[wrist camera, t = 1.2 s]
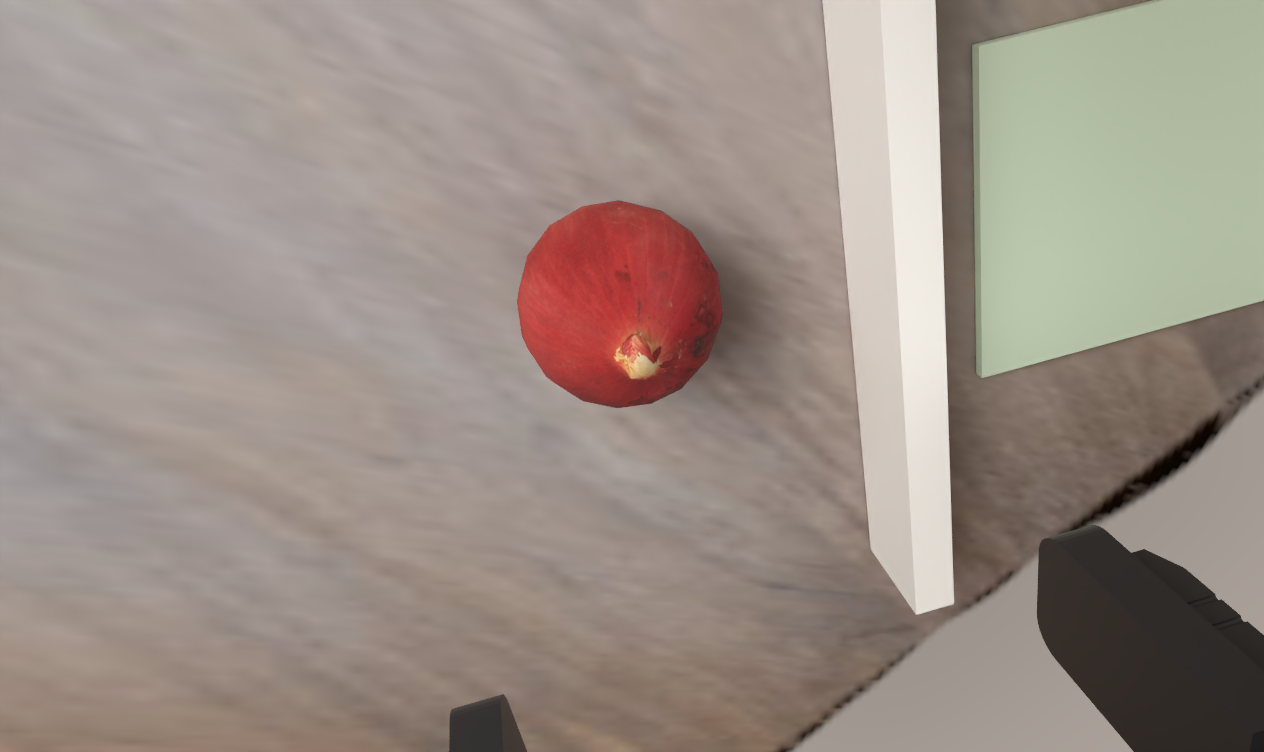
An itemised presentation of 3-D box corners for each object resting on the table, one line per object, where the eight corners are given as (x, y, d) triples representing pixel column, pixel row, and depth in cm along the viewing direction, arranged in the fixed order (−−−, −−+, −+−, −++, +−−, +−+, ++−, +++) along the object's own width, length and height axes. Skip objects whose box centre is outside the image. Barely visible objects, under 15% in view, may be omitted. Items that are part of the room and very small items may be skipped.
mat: (971, 44, 27) (978, 46, 27) (1317, -41, 28) (1328, -41, 28) (976, 373, 33) (981, 378, 32) (1264, 294, 34) (1272, 297, 33)
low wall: (806, -182, 24) (867, -206, 20) (858, -194, 24) (928, -219, 20) (870, 549, 36) (916, 614, 32) (904, 539, 36) (954, 603, 32)
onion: (710, 200, 28) (796, 284, 21) (658, 359, 30) (720, 484, 23) (534, 155, 26) (563, 230, 19) (493, 326, 28) (506, 450, 21)
